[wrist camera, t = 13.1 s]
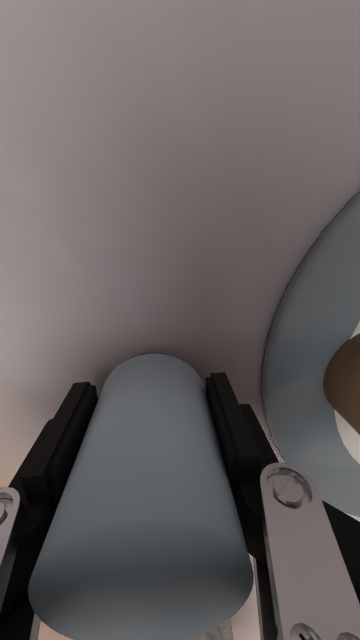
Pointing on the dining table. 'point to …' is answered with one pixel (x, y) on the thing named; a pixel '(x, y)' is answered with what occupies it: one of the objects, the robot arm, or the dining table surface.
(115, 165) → the dining table surface
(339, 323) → the plate
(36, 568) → the smooth blue-gray rounded cylinder
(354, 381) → the brown rounded cylinder
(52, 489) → the robot arm
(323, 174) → the dining table surface
